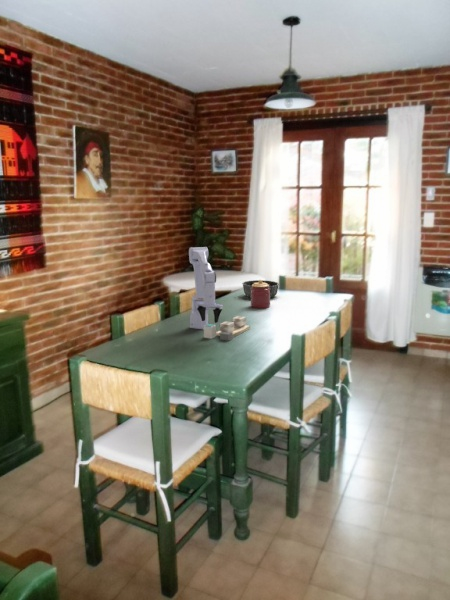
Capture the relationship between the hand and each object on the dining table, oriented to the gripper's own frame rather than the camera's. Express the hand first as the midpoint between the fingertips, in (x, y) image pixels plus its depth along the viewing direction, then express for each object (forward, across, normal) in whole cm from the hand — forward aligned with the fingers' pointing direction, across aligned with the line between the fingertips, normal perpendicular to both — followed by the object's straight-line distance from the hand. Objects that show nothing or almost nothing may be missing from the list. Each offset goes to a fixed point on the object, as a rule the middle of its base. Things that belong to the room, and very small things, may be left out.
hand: (209, 321), depth 251 cm
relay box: (+8, +10, 0) cm, 13 cm away
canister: (+8, -8, +77) cm, 78 cm away
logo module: (+8, 0, 0) cm, 8 cm away
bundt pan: (+8, -22, +107) cm, 110 cm away
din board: (+8, +6, +14) cm, 17 cm away
